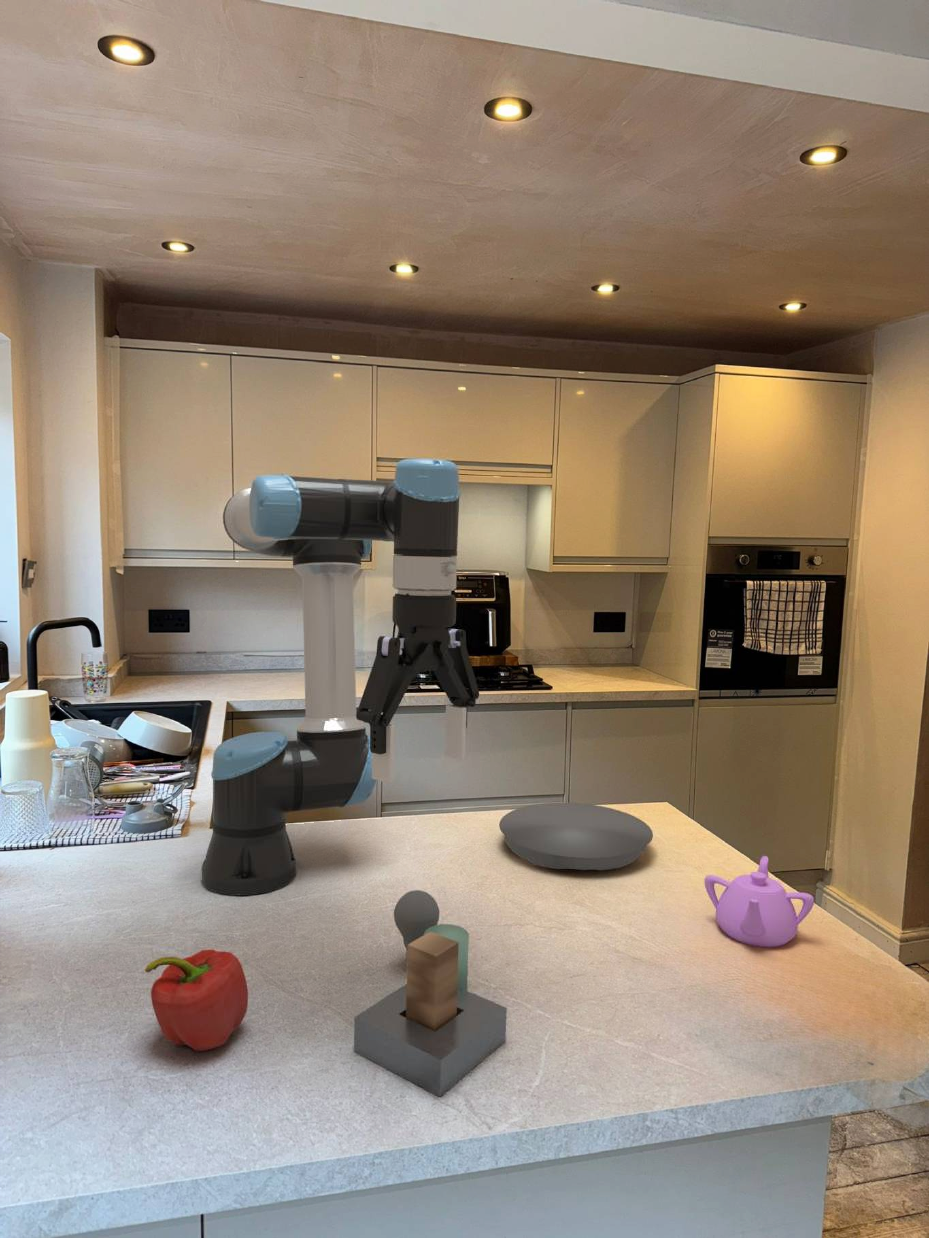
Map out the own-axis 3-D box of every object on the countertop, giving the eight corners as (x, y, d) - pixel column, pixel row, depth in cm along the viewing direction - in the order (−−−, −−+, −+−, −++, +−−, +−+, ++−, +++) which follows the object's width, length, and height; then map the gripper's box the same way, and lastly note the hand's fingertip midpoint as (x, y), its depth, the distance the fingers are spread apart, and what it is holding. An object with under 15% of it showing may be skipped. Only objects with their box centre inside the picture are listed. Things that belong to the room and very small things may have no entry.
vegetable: (147, 1077, 85) (147, 985, 84) (143, 1023, 95) (142, 939, 94) (255, 1053, 90) (255, 966, 89) (240, 1004, 99) (240, 924, 98)
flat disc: (505, 819, 168) (506, 798, 168) (645, 829, 164) (646, 807, 164) (490, 876, 141) (491, 851, 140) (658, 889, 137) (660, 863, 136)
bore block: (354, 1051, 91) (354, 1016, 90) (423, 1003, 100) (423, 972, 100) (440, 1097, 84) (441, 1059, 83) (505, 1041, 93) (506, 1007, 93)
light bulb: (444, 958, 111) (446, 886, 110) (428, 980, 106) (430, 905, 105) (403, 950, 113) (405, 879, 112) (385, 971, 108) (386, 897, 107)
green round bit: (413, 998, 101) (414, 936, 101) (440, 979, 106) (442, 920, 105) (448, 1014, 98) (450, 950, 97) (475, 994, 103) (477, 933, 102)
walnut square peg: (405, 1048, 91) (407, 944, 90) (428, 1031, 95) (430, 931, 94) (433, 1062, 89) (436, 956, 88) (455, 1044, 92) (458, 942, 91)
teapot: (762, 908, 130) (765, 854, 129) (822, 951, 116) (827, 890, 115) (695, 915, 126) (698, 859, 125) (749, 960, 113) (753, 898, 112)
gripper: (376, 598, 85) (373, 798, 87) (509, 590, 105) (504, 753, 107) (325, 594, 90) (323, 784, 92) (462, 587, 110) (457, 743, 112)
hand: (420, 768), depth 99 cm, fingers open, 13 cm apart
